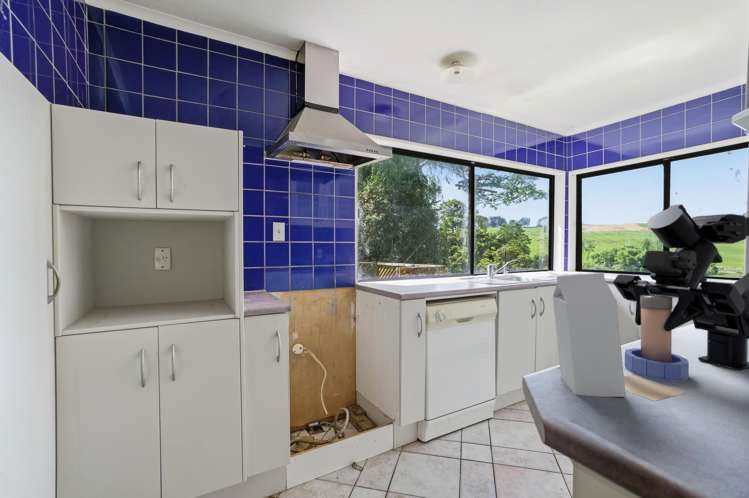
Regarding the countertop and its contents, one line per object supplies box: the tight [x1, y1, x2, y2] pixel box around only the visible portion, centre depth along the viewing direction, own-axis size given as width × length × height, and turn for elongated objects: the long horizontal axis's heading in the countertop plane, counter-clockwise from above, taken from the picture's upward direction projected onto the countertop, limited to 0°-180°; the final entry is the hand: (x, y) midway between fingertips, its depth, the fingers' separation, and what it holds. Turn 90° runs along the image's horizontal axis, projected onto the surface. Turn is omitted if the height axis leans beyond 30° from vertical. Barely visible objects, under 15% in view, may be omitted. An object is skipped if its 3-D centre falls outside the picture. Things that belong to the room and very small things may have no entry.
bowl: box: [624, 348, 690, 383], centre depth 63 cm, size 9×9×4 cm
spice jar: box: [640, 295, 673, 363], centre depth 63 cm, size 5×5×12 cm
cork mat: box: [624, 374, 686, 402], centre depth 57 cm, size 8×8×1 cm
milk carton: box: [552, 272, 627, 398], centre depth 57 cm, size 7×7×19 cm
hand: (651, 326), depth 63 cm, fingers closed on spice jar, 4 cm apart
